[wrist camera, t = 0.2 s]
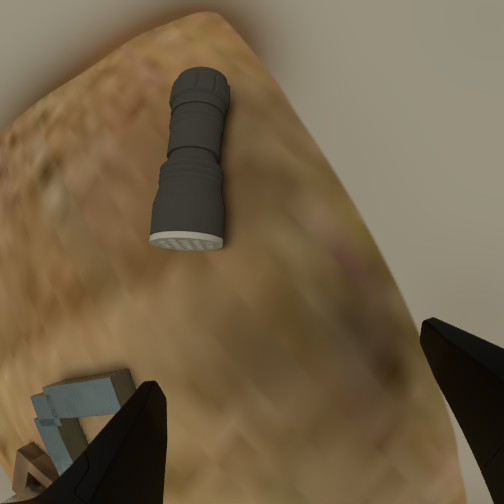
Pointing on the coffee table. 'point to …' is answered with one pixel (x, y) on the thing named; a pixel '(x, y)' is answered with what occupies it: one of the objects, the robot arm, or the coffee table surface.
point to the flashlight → (192, 165)
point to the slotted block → (33, 468)
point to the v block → (77, 411)
